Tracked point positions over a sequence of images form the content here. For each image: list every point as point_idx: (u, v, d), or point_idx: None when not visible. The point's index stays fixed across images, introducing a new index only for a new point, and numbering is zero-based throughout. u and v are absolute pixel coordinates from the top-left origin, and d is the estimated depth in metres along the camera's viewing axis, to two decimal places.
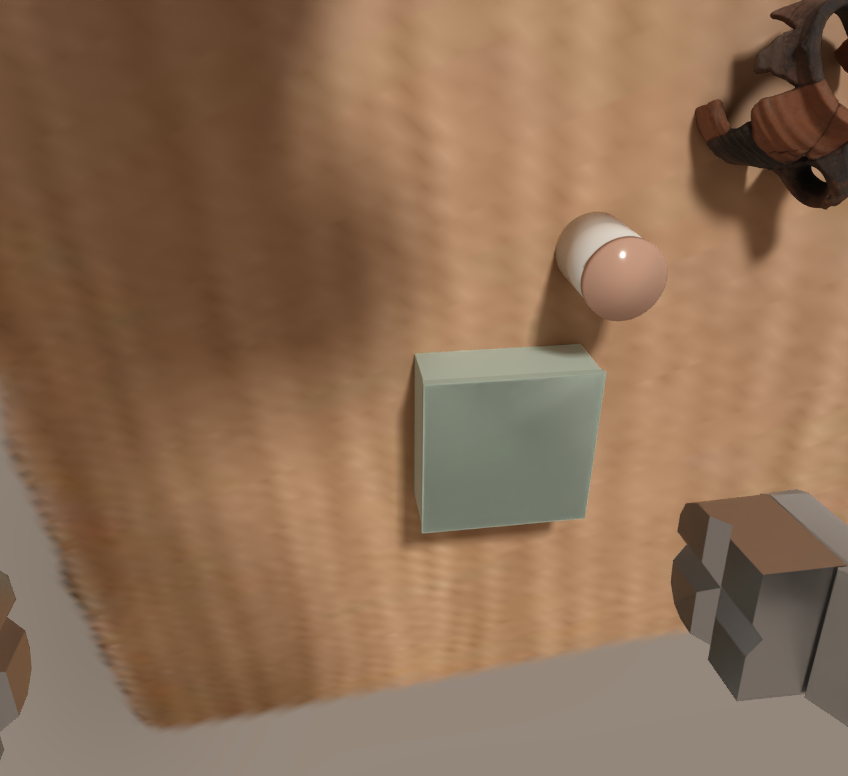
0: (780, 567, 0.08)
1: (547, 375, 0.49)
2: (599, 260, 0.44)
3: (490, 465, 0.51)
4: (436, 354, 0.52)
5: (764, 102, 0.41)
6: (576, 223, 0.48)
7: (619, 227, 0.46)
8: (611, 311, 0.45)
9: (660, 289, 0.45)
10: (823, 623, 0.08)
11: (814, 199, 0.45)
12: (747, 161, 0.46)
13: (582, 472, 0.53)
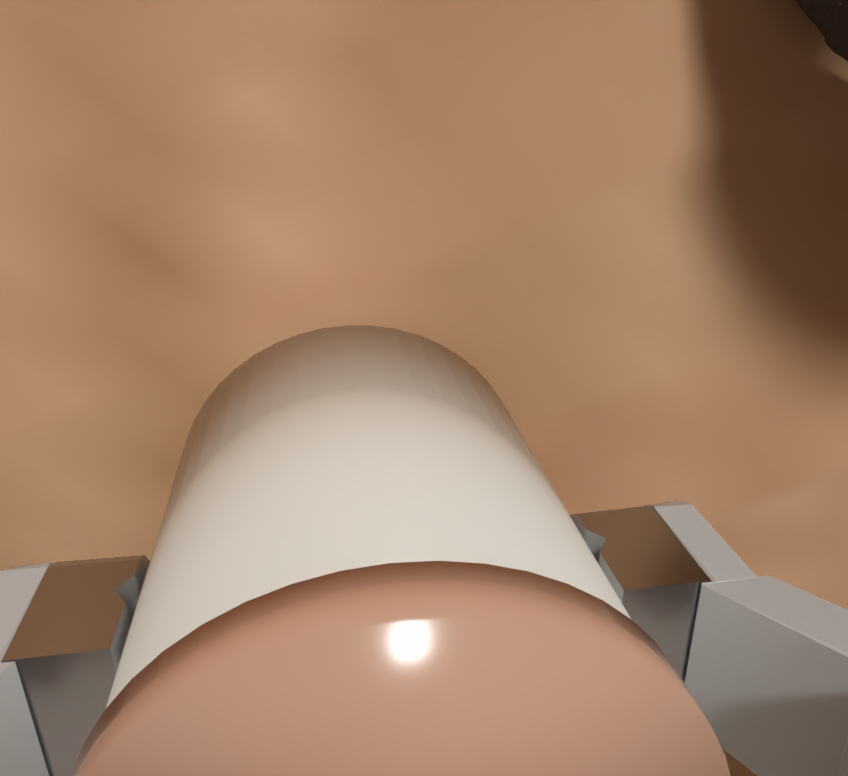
0: (643, 582, 0.08)
1: None
2: None
3: None
4: None
5: None
6: (232, 387, 0.09)
7: (397, 439, 0.07)
8: None
9: None
10: (692, 639, 0.08)
11: None
12: None
13: None
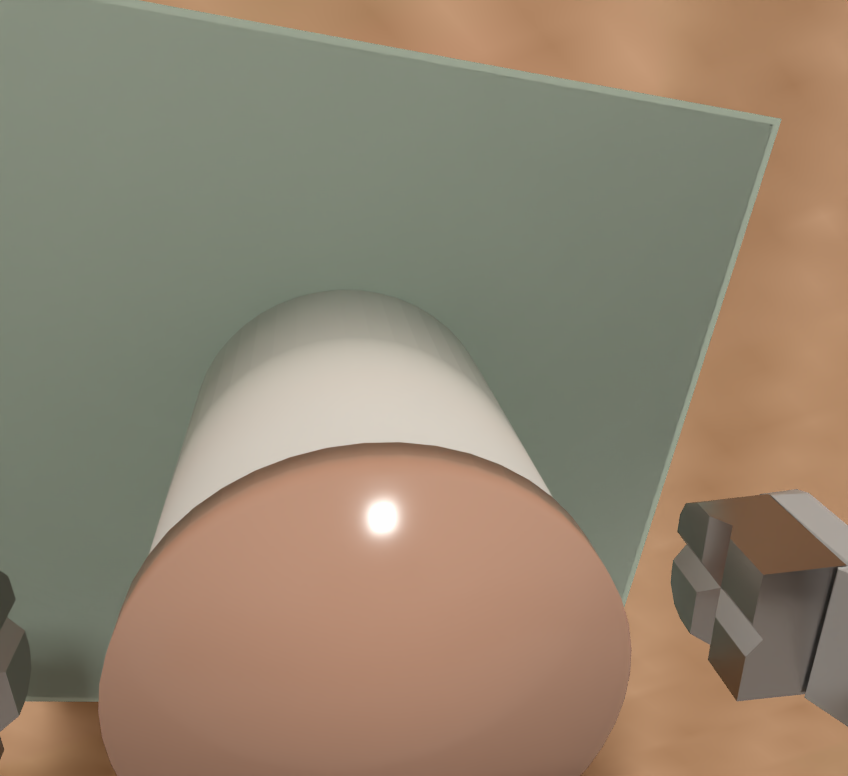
0: (780, 567, 0.08)
1: (541, 75, 0.11)
2: (166, 611, 0.07)
3: None
4: None
5: None
6: (240, 340, 0.11)
7: (375, 369, 0.09)
8: None
9: (596, 723, 0.08)
10: (823, 622, 0.08)
11: None
12: None
13: (612, 540, 0.15)
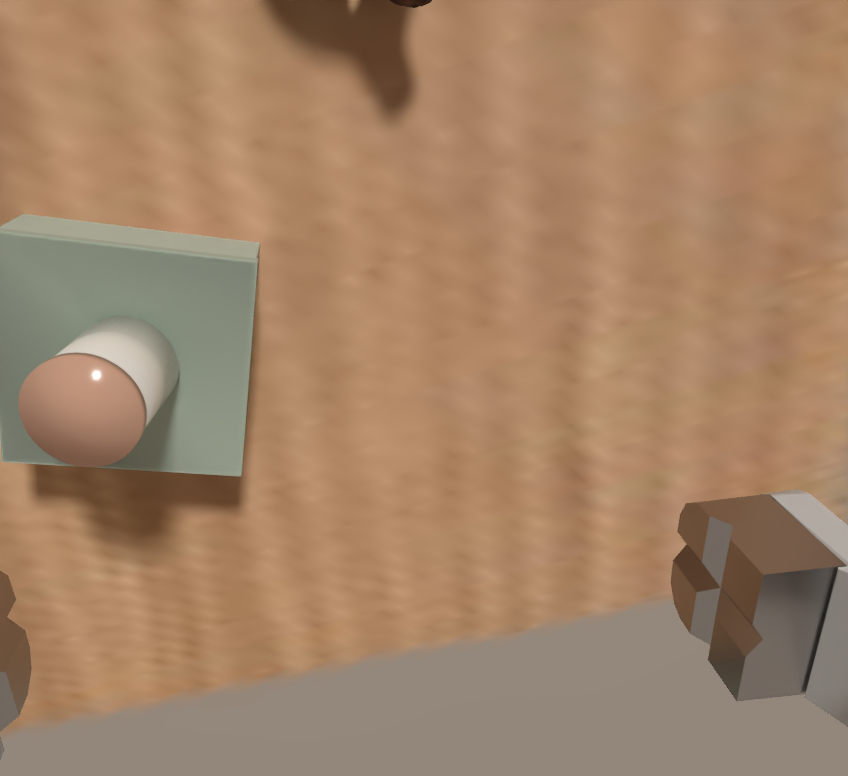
0: (780, 567, 0.08)
1: (175, 250, 0.36)
2: (29, 388, 0.31)
3: None
4: (52, 218, 0.39)
5: None
6: None
7: (95, 338, 0.33)
8: (78, 454, 0.33)
9: (137, 422, 0.32)
10: (823, 623, 0.08)
11: None
12: None
13: (233, 406, 0.40)
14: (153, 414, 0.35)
